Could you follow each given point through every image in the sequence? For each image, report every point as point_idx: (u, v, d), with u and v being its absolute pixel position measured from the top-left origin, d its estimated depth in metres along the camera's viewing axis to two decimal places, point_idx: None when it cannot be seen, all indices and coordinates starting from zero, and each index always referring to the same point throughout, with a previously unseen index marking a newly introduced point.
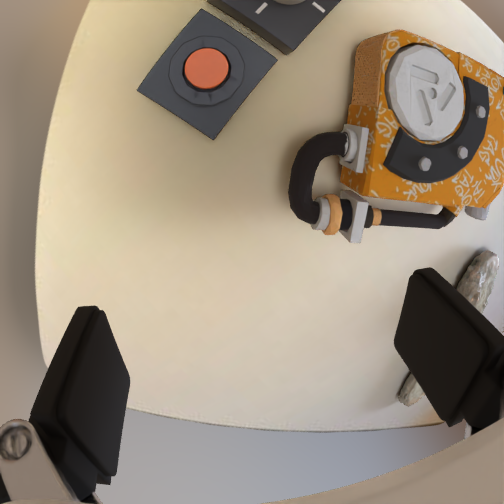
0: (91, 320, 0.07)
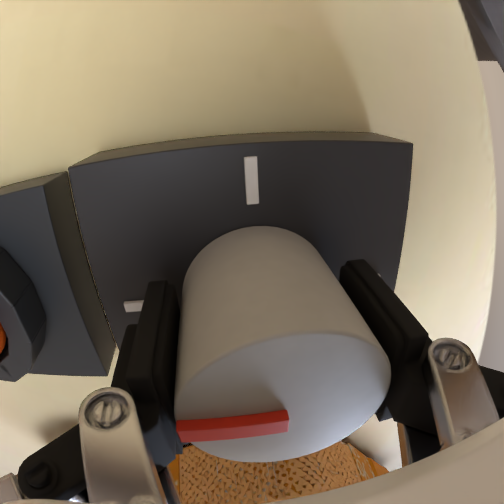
0: (166, 292, 0.08)
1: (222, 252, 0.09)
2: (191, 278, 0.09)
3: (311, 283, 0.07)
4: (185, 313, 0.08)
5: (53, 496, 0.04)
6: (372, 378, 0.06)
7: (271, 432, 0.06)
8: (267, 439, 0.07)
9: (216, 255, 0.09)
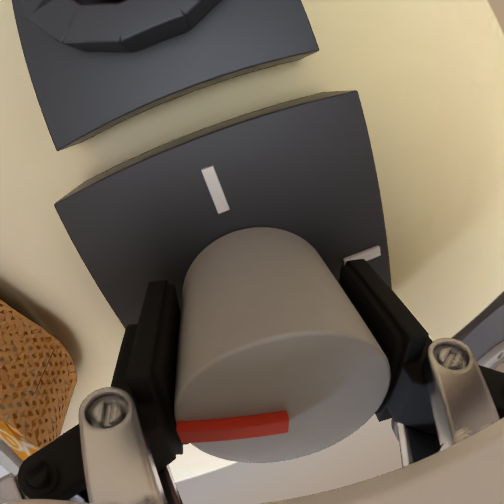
0: (166, 292, 0.08)
1: (222, 253, 0.09)
2: (191, 279, 0.09)
3: (310, 285, 0.07)
4: (185, 314, 0.08)
5: (53, 496, 0.04)
6: (372, 379, 0.06)
7: (271, 433, 0.06)
8: (267, 439, 0.07)
9: (215, 256, 0.09)
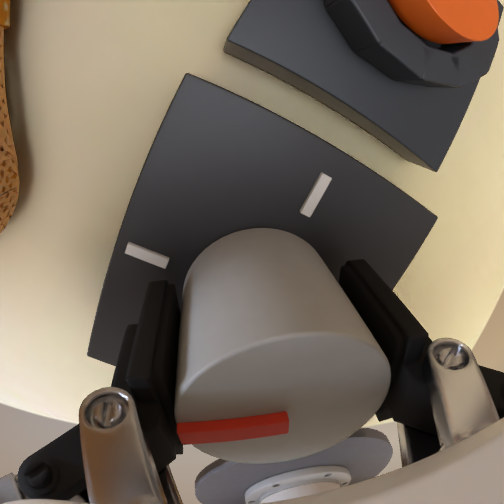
0: (167, 292, 0.08)
1: (221, 254, 0.09)
2: (191, 281, 0.09)
3: (309, 286, 0.07)
4: (185, 316, 0.08)
5: (53, 496, 0.04)
6: (372, 379, 0.06)
7: (271, 434, 0.06)
8: (268, 440, 0.07)
9: (215, 258, 0.09)
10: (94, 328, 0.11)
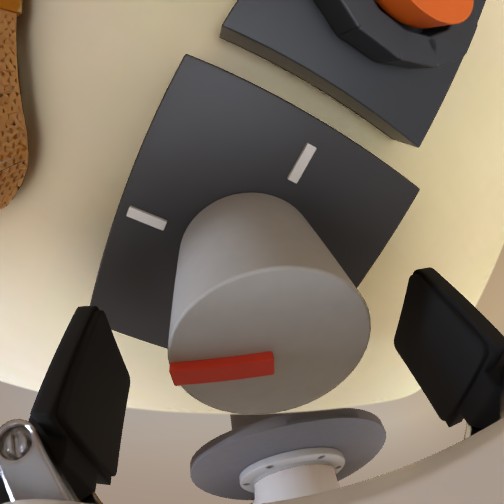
0: (91, 320, 0.07)
1: (213, 214, 0.10)
2: (186, 239, 0.10)
3: (291, 234, 0.08)
4: (180, 268, 0.09)
5: None
6: (351, 322, 0.07)
7: (258, 374, 0.07)
8: (255, 385, 0.08)
9: (208, 217, 0.10)
10: (95, 291, 0.12)
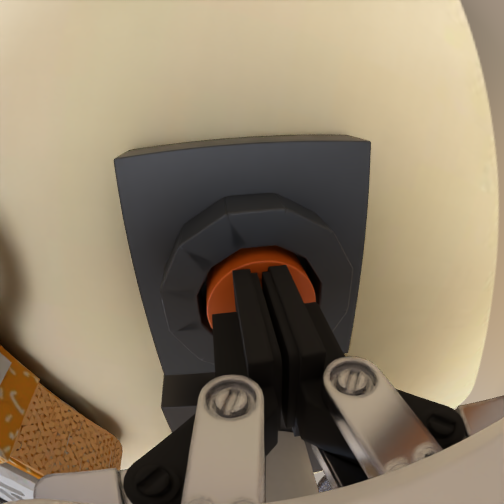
0: (254, 280, 0.09)
1: None
2: None
3: None
4: None
5: (172, 502, 0.04)
6: None
7: None
8: None
9: None
10: None
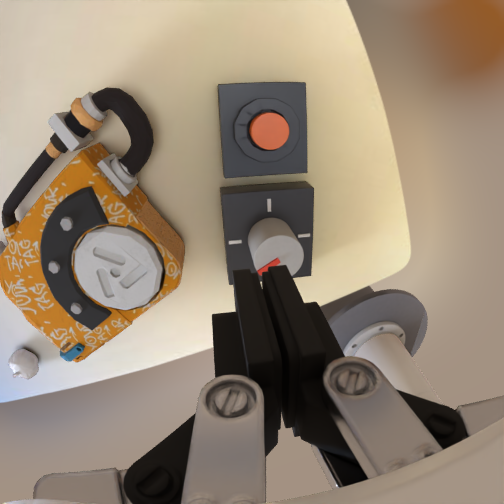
0: (254, 280, 0.09)
1: (252, 232, 0.34)
2: (249, 242, 0.34)
3: (270, 230, 0.32)
4: (250, 250, 0.33)
5: (172, 502, 0.04)
6: (291, 242, 0.31)
7: (276, 263, 0.31)
8: None
9: (251, 234, 0.34)
10: (228, 272, 0.37)
